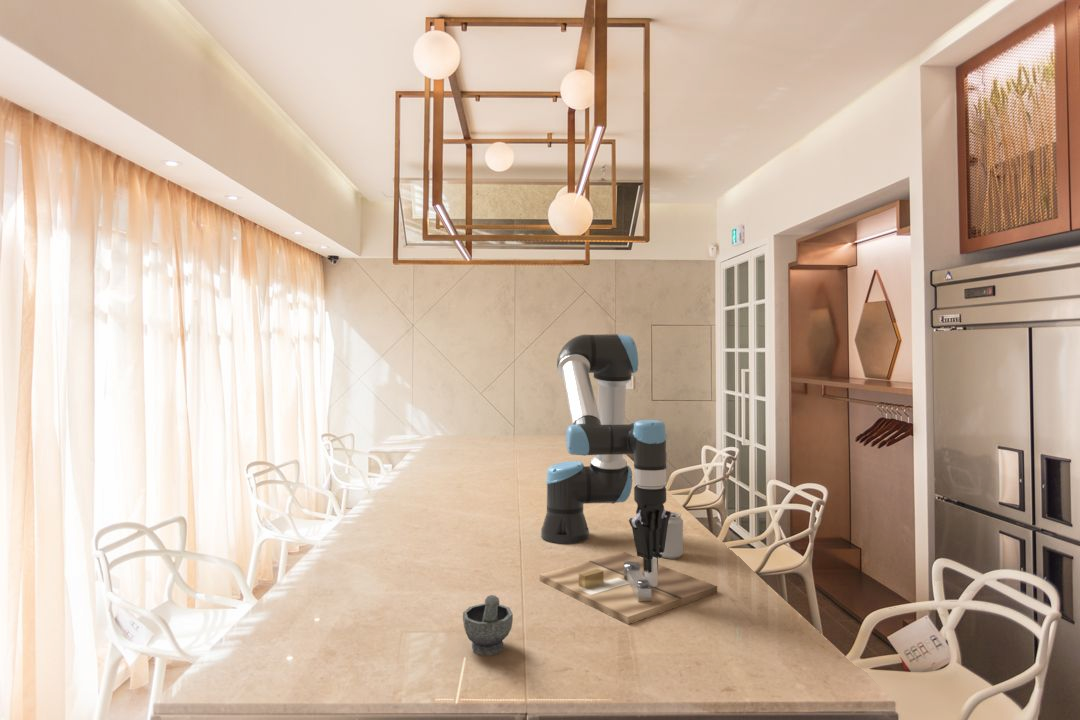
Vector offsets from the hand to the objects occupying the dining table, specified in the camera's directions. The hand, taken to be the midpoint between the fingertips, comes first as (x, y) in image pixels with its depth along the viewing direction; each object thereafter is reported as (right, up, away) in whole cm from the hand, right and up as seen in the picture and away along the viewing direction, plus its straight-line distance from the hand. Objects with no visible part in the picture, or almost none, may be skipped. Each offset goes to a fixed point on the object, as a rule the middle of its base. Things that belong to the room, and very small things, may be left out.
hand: (651, 584), depth 147 cm
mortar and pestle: (-37, -4, -26) cm, 45 cm away
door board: (-5, -3, +7) cm, 9 cm away
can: (+11, -3, +31) cm, 33 cm away
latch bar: (-3, -1, +2) cm, 4 cm away
